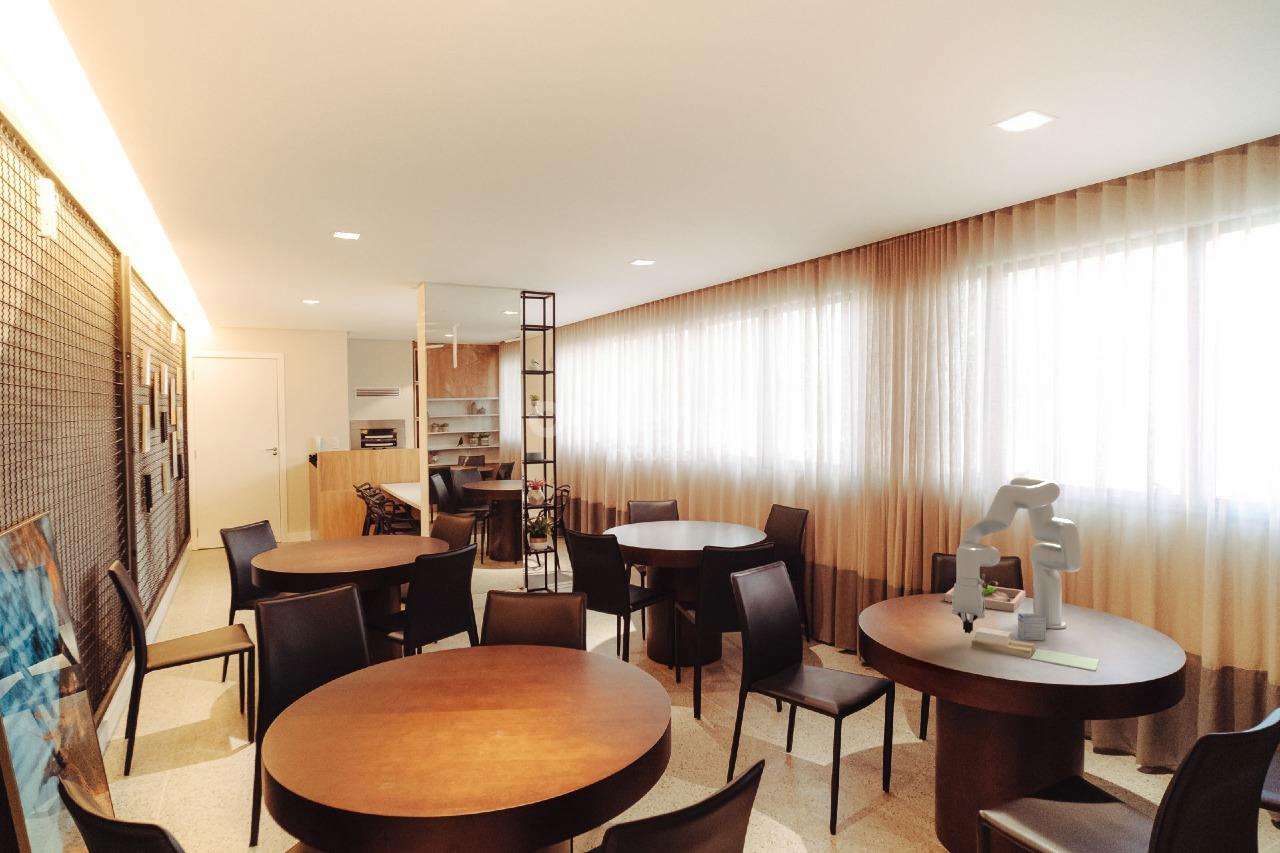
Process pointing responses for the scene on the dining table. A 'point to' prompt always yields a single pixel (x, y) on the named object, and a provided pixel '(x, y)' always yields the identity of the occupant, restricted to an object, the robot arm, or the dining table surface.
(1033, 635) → the medicine box
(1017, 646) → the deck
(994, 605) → the planter tray
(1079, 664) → the mat
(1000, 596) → the plant
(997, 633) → the cream rectangular block
